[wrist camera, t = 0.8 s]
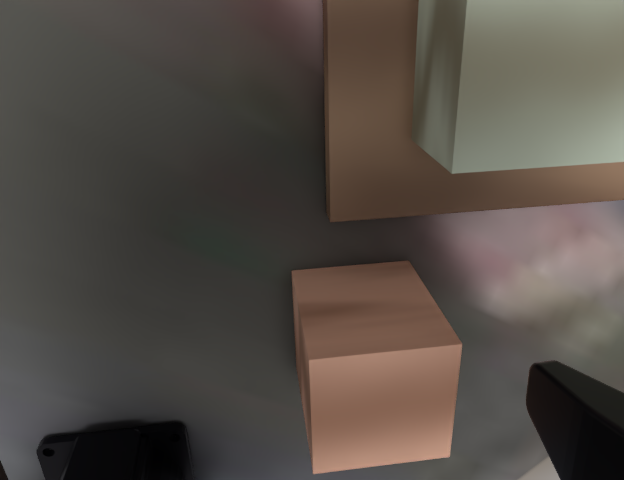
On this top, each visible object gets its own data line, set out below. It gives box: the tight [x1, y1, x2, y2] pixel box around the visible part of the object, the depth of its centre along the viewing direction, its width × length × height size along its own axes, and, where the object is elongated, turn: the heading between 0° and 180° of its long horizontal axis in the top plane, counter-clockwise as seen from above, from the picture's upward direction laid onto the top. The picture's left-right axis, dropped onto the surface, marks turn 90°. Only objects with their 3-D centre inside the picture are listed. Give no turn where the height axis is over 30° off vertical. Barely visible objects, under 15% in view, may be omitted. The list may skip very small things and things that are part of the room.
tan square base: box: [323, 0, 624, 222], centre depth 17 cm, size 12×12×5 cm
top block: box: [292, 260, 462, 474], centre depth 21 cm, size 5×5×6 cm
